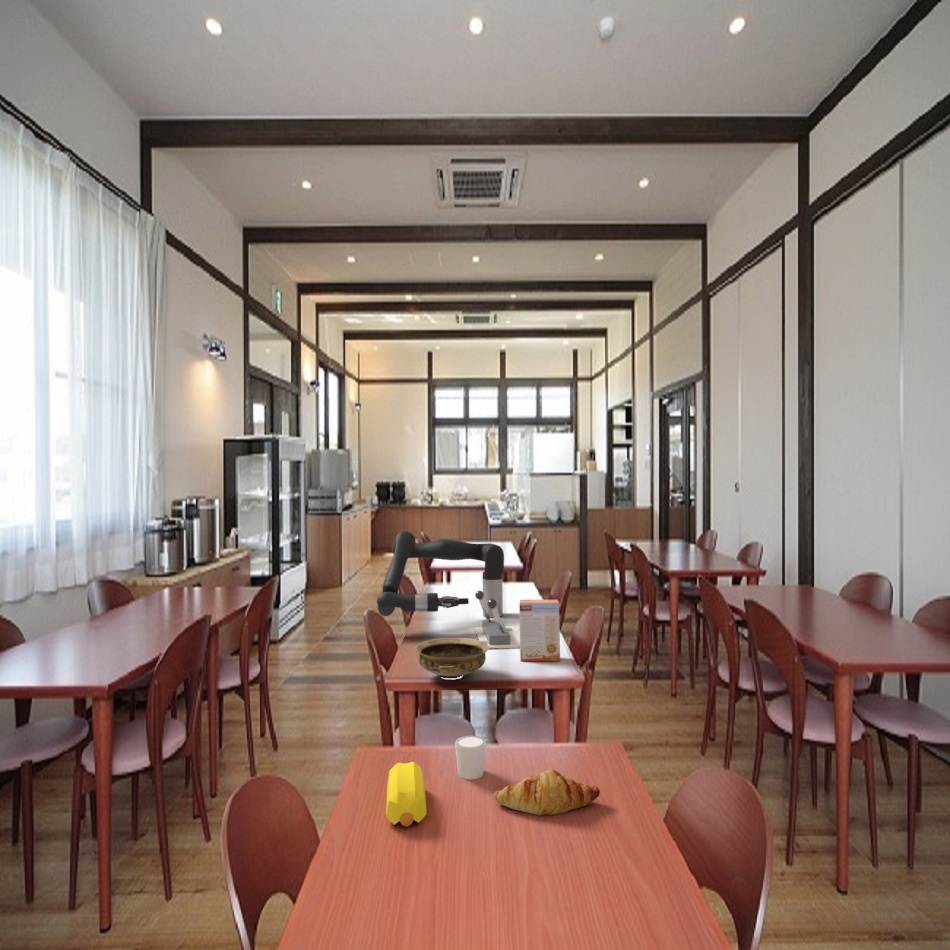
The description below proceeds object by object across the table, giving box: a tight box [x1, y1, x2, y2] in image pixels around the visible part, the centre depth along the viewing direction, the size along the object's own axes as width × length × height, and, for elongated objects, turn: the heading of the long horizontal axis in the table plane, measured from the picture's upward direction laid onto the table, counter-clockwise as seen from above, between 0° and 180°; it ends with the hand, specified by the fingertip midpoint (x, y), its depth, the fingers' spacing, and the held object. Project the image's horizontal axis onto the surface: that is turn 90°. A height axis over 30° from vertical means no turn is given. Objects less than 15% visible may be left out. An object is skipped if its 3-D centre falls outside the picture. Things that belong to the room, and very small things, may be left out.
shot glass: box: [454, 735, 487, 780], centre depth 139 cm, size 7×7×7 cm
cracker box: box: [519, 599, 561, 662], centre depth 222 cm, size 14×6×21 cm, turn 84°
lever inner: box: [474, 590, 492, 622], centre depth 260 cm, size 4×4×13 cm
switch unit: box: [474, 619, 520, 650], centre depth 251 cm, size 30×18×4 cm, turn 6°
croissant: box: [493, 769, 601, 816], centre depth 125 cm, size 21×10×8 cm, turn 92°
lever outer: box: [488, 599, 505, 633], centre depth 242 cm, size 4×4×13 cm
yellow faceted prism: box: [385, 761, 428, 827], centre depth 125 cm, size 18×7×8 cm
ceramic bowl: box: [414, 637, 490, 678], centre depth 204 cm, size 30×24×10 cm
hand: (468, 601), depth 259 cm, fingers closed
